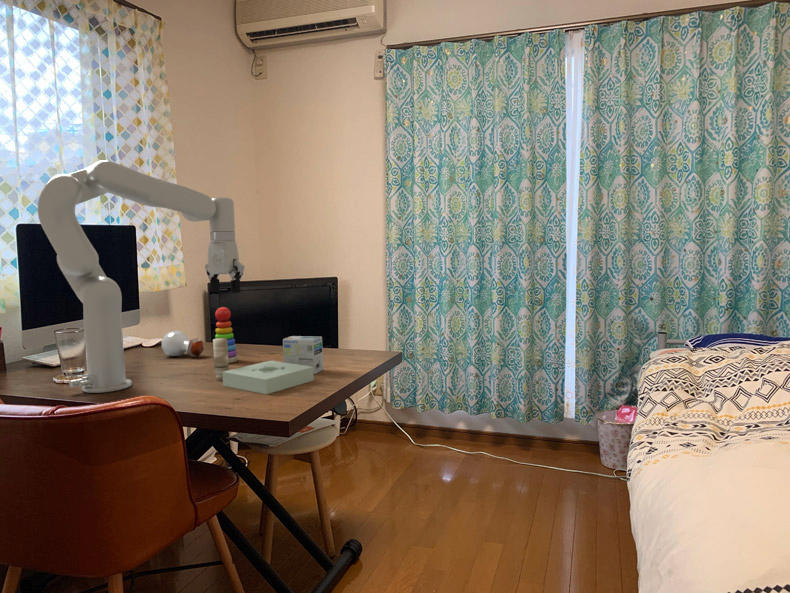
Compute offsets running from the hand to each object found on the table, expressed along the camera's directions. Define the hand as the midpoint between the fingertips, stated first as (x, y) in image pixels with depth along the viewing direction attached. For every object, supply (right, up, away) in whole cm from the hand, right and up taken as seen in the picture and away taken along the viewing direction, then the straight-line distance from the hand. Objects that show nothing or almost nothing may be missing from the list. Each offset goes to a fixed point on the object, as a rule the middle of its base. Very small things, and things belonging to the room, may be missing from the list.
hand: (225, 292), depth 182 cm
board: (+17, -26, -17) cm, 36 cm away
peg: (+2, -26, -11) cm, 28 cm away
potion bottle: (-23, -23, +26) cm, 42 cm away
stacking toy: (-4, -24, +15) cm, 28 cm away
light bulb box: (+25, -25, -3) cm, 36 cm away
